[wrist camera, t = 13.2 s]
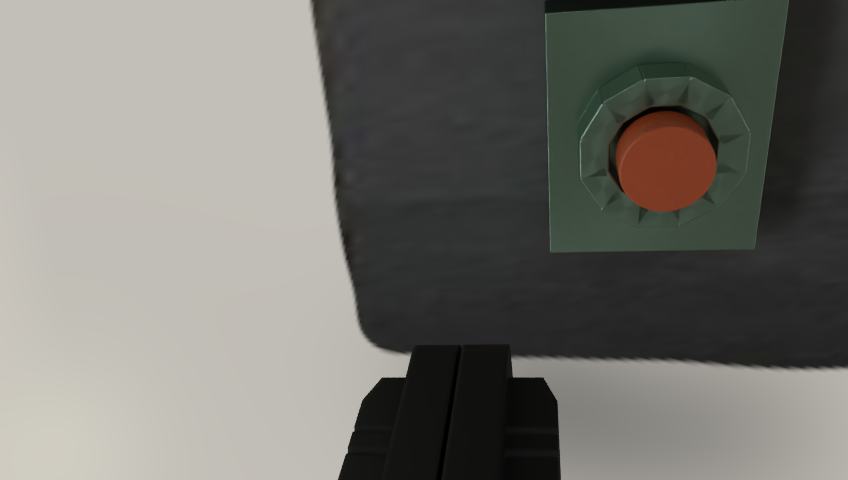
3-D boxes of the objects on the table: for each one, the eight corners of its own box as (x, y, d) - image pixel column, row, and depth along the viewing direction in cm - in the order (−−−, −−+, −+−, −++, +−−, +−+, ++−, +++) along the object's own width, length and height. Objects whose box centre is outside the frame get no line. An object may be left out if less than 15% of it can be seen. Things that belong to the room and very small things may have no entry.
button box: (544, 0, 31) (544, 24, 27) (774, -17, 29) (805, 7, 26) (549, 230, 36) (550, 274, 33) (743, 225, 35) (765, 271, 31)
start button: (616, 112, 29) (620, 128, 28) (712, 107, 29) (721, 124, 27) (613, 194, 31) (617, 213, 29) (704, 191, 30) (712, 211, 29)
